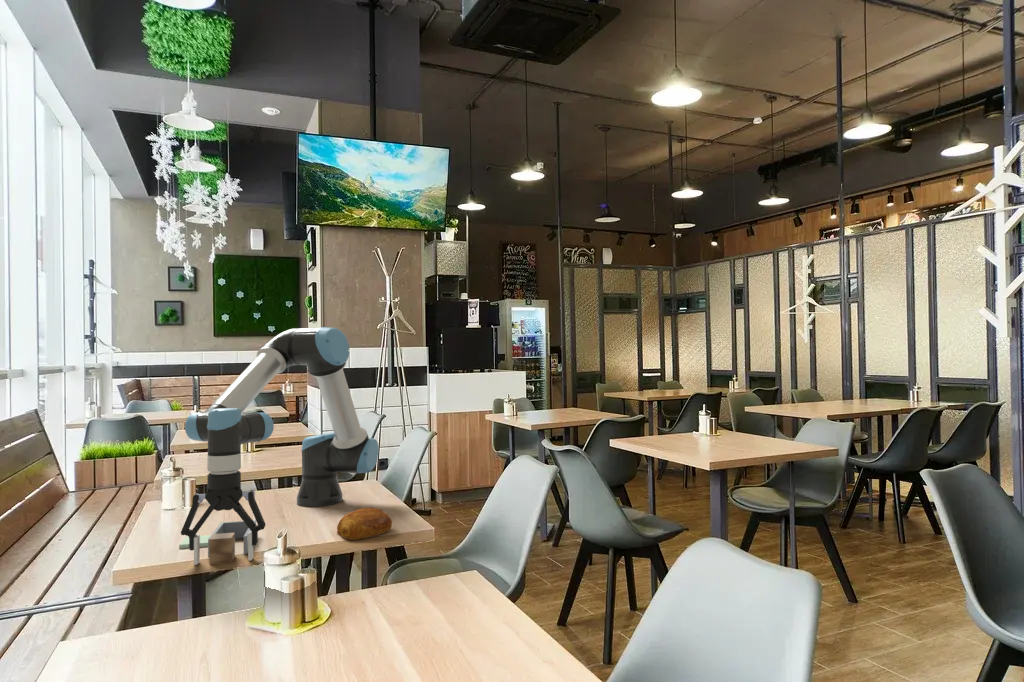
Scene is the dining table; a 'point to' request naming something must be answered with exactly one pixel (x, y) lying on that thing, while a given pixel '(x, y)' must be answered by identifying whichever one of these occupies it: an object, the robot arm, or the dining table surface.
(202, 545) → the coaster
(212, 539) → the block
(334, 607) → the dining table surface
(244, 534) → the u-shaped bracket
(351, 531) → the brown oval lump
